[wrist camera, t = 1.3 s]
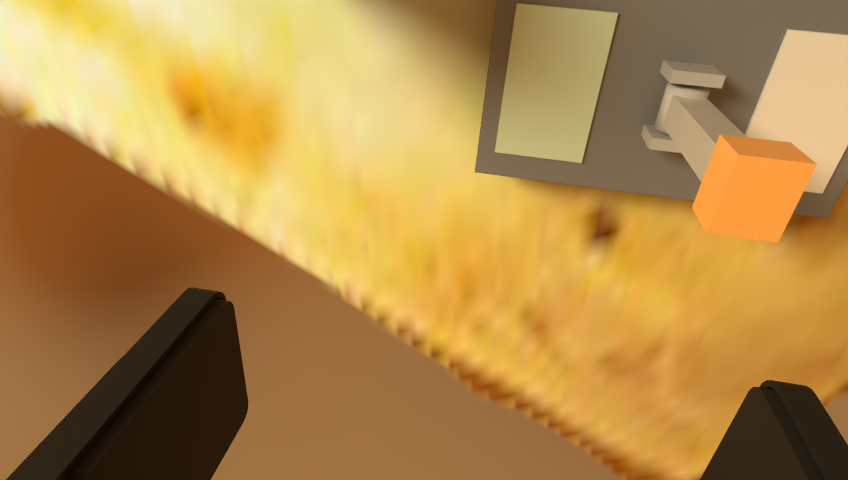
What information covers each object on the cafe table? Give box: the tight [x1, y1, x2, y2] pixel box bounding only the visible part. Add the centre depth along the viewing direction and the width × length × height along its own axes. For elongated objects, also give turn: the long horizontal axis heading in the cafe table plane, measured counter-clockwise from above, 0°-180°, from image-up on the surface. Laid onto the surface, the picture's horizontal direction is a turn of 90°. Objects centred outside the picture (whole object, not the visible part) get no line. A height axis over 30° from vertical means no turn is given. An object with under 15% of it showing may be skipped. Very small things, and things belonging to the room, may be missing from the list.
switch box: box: [475, 0, 848, 218], centre depth 29 cm, size 11×20×6 cm, turn 85°
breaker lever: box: [654, 82, 817, 243], centre depth 23 cm, size 3×2×12 cm
